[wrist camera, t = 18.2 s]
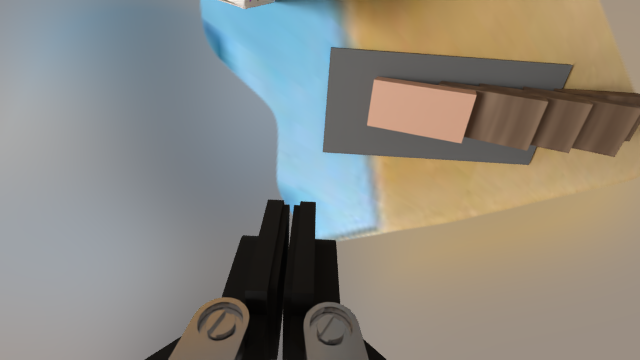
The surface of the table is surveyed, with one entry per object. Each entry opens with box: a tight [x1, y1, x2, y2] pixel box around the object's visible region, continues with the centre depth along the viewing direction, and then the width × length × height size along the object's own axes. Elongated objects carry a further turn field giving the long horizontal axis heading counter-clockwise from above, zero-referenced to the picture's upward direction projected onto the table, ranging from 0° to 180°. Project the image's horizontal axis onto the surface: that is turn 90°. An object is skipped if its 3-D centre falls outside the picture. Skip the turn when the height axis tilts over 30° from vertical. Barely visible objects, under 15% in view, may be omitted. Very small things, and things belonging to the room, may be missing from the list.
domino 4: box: [522, 87, 640, 157], centre depth 34 cm, size 2×5×10 cm
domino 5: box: [554, 88, 640, 141], centre depth 36 cm, size 2×5×10 cm
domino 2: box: [438, 81, 548, 151], centre depth 33 cm, size 2×5×10 cm
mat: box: [323, 47, 573, 165], centre depth 37 cm, size 12×26×1 cm, turn 86°
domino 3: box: [479, 83, 593, 153], centre depth 34 cm, size 2×5×10 cm
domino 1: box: [367, 76, 477, 143], centre depth 34 cm, size 2×5×10 cm
